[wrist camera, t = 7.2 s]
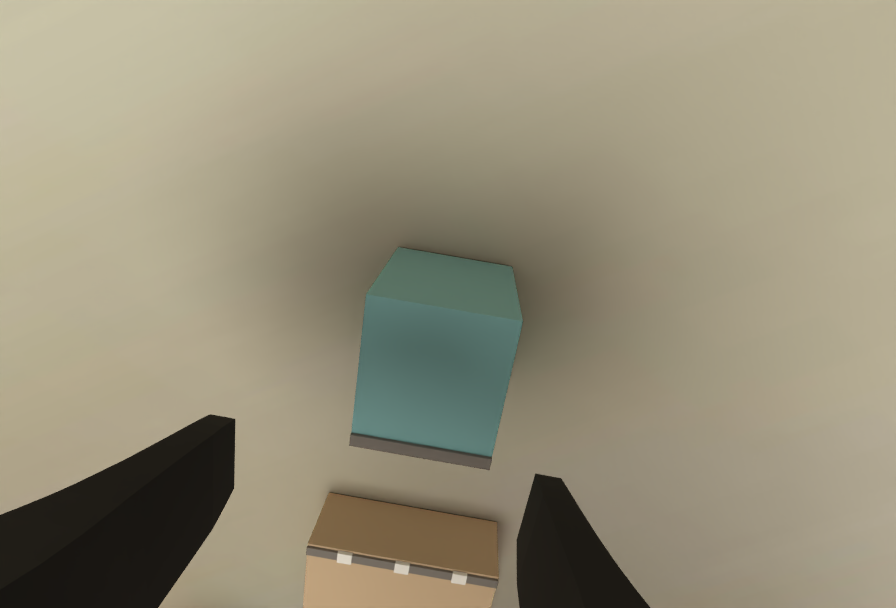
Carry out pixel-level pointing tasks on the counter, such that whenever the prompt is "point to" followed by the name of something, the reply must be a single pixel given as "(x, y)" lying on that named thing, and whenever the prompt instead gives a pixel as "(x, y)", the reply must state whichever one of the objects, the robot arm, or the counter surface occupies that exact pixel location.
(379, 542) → the taped cardboard box
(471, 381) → the teal box
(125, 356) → the counter surface
